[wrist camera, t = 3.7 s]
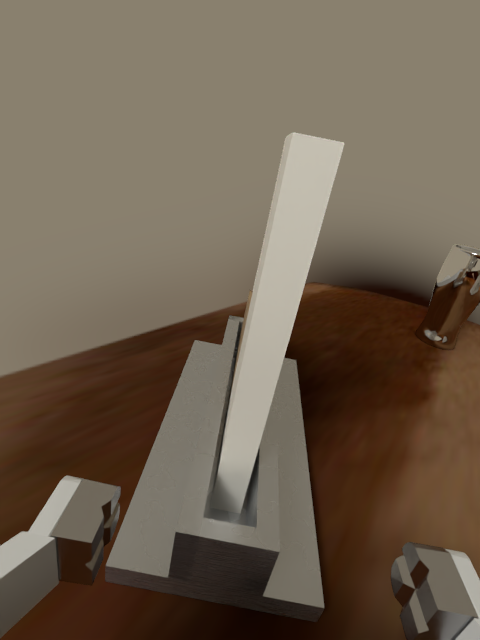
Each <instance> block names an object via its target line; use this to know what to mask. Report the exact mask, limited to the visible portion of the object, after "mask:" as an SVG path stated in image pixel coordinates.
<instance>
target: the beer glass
mask: <svg viewBox="0 0 480 640" xmlns="http://www.w3.org/2000/svg"><path fill="white" fill-rule="evenodd" d="M479 303H480V249H479V248H475V247H471V246H466V245H461V244H454V245H453V247H452V249H451V251H450V253H449V254H448V256H447V258H446V260H445V261H444V264H443V266H442V267H441V270H440V272H439V274H438V277H437V279H436V282H435V286H434V289H433V294H432V298H431V302H430V305H429V309H428V312H427V314H426V316H425V318H424V320H423V321H422V323H421V324H420V325H419V327H418V328H417V330H416V332H415V334H416V336H417V337H418V338H419V339H420V340H421V341H423V342H425V343H427V344H429V345H431V346H433V347H436V348H440V349H445V350H451V349H453V348H454V347H455V345H456V341H457V337H458V334H459V331H460V329H461V327H462V326H463V324H464V322H465V321H466V320H467V319H468V317H469V316H470V315H471V313H472V312H473V311H474V310H475V309H476V307H477V306H478V305H479Z"/></svg>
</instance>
